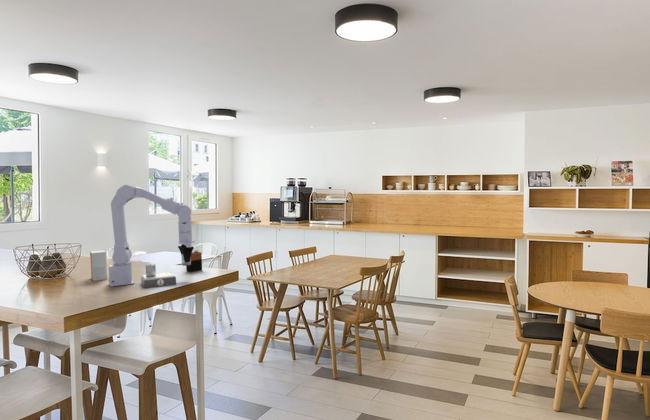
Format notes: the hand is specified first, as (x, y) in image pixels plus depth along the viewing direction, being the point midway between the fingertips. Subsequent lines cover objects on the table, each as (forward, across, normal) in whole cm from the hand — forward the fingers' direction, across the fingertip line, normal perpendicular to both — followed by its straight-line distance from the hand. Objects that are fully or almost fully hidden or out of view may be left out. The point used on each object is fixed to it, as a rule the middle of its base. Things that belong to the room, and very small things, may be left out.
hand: (186, 261), depth 204 cm
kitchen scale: (+8, -2, +13) cm, 15 cm away
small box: (+9, +27, +35) cm, 45 cm away
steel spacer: (+2, 0, 0) cm, 2 cm away
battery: (+9, +21, -8) cm, 24 cm away
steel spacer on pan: (+5, -2, +16) cm, 16 cm away
